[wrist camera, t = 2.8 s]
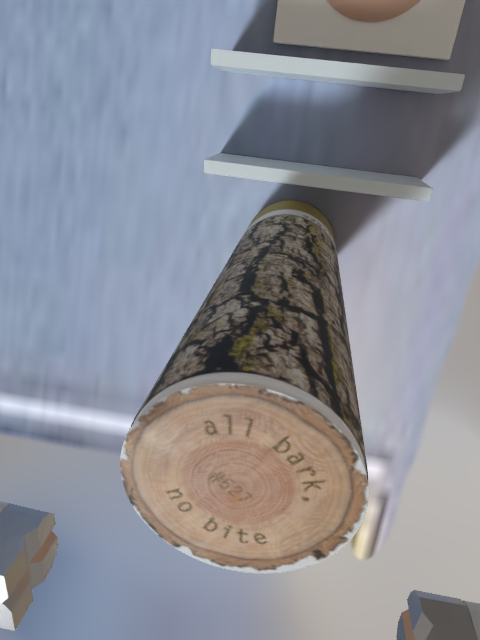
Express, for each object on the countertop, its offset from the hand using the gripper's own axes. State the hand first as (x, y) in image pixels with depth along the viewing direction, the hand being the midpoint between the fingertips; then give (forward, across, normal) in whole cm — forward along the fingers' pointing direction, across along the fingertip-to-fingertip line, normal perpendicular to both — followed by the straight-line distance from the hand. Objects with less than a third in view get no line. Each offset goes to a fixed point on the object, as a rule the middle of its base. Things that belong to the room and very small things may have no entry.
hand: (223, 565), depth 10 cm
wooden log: (+27, 0, 0) cm, 27 cm away
